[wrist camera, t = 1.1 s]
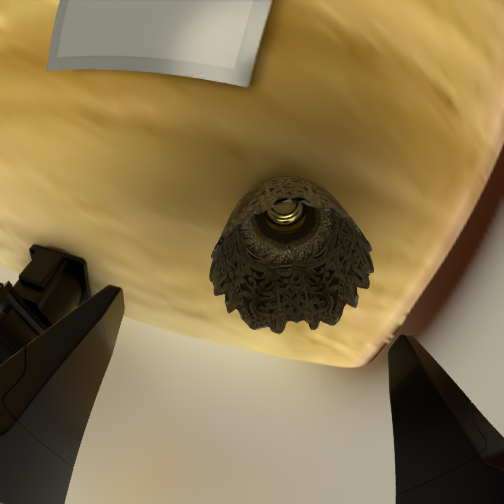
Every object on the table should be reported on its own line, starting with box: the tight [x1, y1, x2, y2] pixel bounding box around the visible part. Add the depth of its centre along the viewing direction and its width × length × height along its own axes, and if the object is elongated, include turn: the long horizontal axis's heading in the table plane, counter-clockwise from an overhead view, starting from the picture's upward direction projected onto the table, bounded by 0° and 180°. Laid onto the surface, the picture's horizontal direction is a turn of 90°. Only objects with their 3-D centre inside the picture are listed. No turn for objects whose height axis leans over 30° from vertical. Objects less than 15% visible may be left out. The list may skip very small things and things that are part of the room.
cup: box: [210, 177, 374, 334], centre depth 16 cm, size 8×7×8 cm
